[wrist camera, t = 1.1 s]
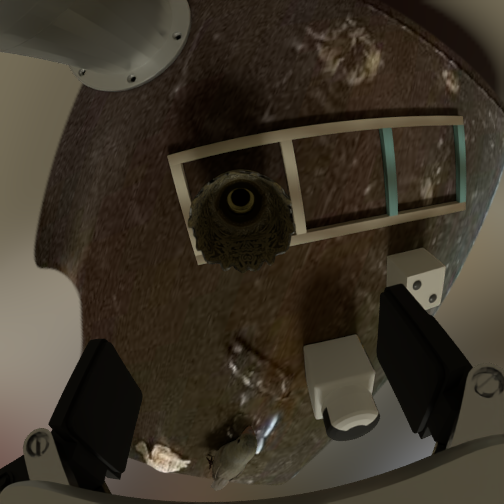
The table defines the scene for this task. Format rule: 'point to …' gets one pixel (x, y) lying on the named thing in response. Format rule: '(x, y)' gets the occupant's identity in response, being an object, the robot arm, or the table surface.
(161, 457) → the table surface
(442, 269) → the die
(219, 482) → the decorative bird
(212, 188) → the dark patterned vase
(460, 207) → the ladder
